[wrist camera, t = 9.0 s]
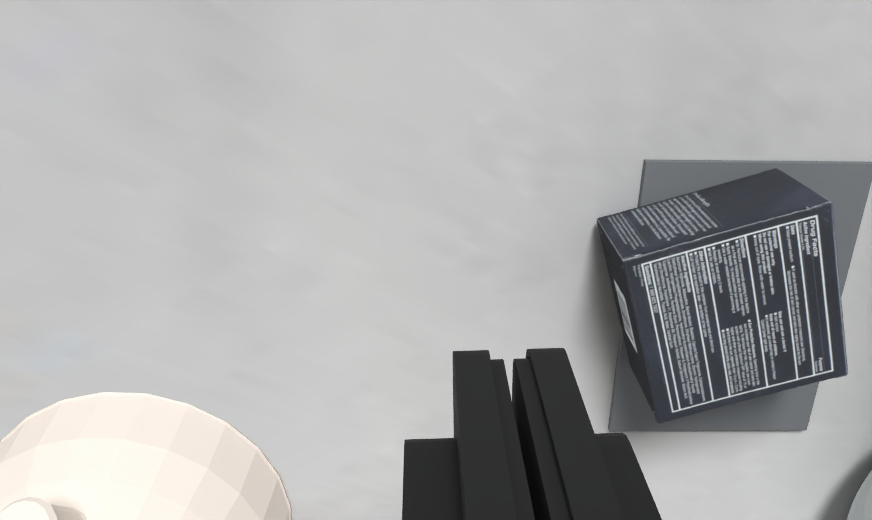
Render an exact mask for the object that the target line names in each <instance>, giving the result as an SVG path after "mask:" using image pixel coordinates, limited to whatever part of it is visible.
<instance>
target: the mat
mask: <svg viewBox="0 0 872 520" xmlns="http://www.w3.org/2000/svg"><path fill="white" fill-rule="evenodd" d="M774 168H777V169H779V170H781V171H783V172H785V173H786V174H788V175H790V176H791V177H793V178H794V179H796V180H797V181H799V182H801V183H802V184H804V185H805V186H807V187H809V188H810V189H812V190H813V191H815V192H816V193H818V194H820V195H821V196H823V197H825V198H826V199H828V200H830V201H832V203H833V211H834V222H835V235H836V246H837V257H838V268H839V280H840V292H841V296H842V292H843V288H844V285H845V281H846V277H847V273H848V269H849V266H850V262H851V258H852V254H853V250H854V246H855V243H856V239H857V235H858V231H859V227H860V224H861V220H862V216H863V212H864V208H865V204H866V201H867V197H868V193H869V189H870V185H871V182H872V162H829V161H722V160H644V165H643V172H642V180H641V187H640V195H639V202H638V207H641V206H644V205H648V204H652V203H655V202H659V201H663V200H666V199H669V198H673V197H677V196H681V195H684V194H687V193H691V192H695V191H698V190H702V189H705V188H709V187H712V186H716V185H719V184H722V183H726V182H730V181H733V180H737V179H740V178H744V177H747V176H751V175H754V174H758V173H761V172H764V171H767V170H771V169H774ZM818 384H819V382H815V383H811V384H808V385H804V386H800V387H797V388H792V389H789V390H784V391H780V392H777V393H773V394H769V395H765V396H761V397H757V398H753V399H749V400H745V401H741V402H738V403H734V404H730V405H727V406H723V407H719V408H714V409H710V410H707V411H703V412H699V413H695V414H692V415H689V416H685V417H682V418H678V419H675V420H672V421H669V422H667V423H664V424H658V423H657V421H656V418H655V416H654V414H653V412H652V410H651V408H650V406H649V404H648V402H647V399H646V397H645V395H644V393H643V391H642V389H641V387H640V385H639V383H638V381H637V379H636V377H635V375H634V373H633V371H632V369H631V367H630V363H629V359H628V354H627V350H626V346H625V341H624V336H623V332H622V329H621V336H620V344H619V351H618V359H617V366H616V374H615V381H614V389H613V396H612V404H611V411H610V418H609V426H608V428H609V431H769V430H807V426H808V422H809V418H810V414H811V411H812V407H813V403H814V399H815V395H816V392H817V388H818Z"/></svg>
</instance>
